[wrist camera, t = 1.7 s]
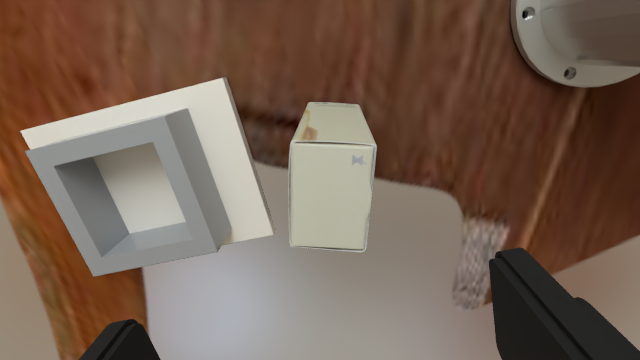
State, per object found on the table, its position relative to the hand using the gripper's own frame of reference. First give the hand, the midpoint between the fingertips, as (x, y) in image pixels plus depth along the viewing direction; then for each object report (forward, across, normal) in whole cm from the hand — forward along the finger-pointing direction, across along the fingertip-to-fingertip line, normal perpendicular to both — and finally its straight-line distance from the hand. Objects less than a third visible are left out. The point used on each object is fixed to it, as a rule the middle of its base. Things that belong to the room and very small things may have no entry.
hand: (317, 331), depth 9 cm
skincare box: (+21, 0, 0) cm, 21 cm away
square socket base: (+21, +16, 0) cm, 26 cm away
